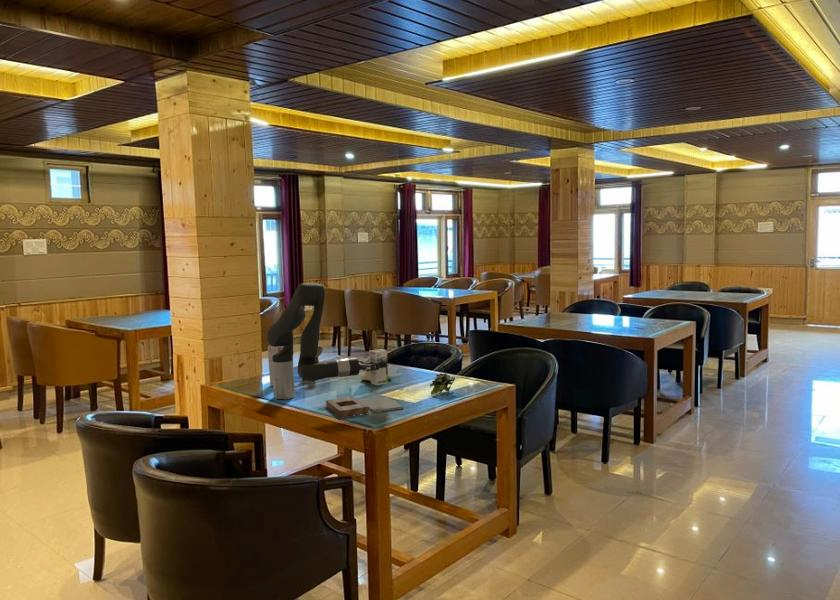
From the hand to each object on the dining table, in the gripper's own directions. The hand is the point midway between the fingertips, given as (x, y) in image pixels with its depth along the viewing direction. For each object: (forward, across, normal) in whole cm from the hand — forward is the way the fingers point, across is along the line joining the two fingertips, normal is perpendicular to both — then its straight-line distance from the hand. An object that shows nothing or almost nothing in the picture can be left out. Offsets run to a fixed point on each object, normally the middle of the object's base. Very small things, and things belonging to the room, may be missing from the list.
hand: (383, 363), depth 273 cm
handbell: (+14, +48, +18) cm, 53 cm away
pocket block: (-17, 0, +18) cm, 25 cm away
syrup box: (-2, 0, +9) cm, 9 cm away
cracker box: (-31, +67, +18) cm, 76 cm away
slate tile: (-2, 0, +18) cm, 18 cm away
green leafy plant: (+30, +4, +18) cm, 35 cm away
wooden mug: (-13, +68, +18) cm, 72 cm away
